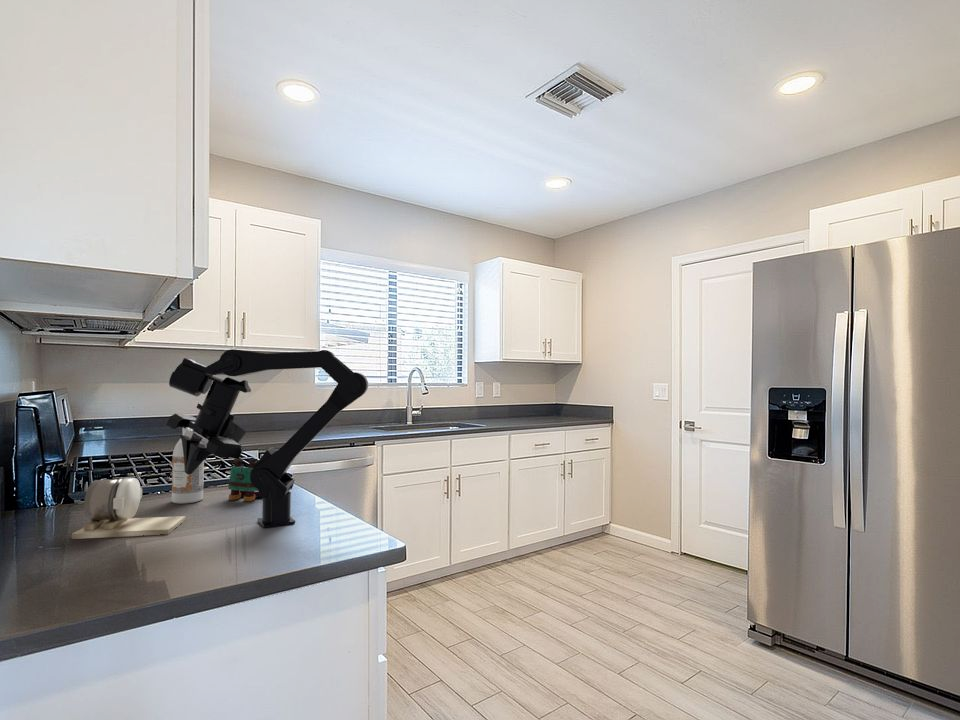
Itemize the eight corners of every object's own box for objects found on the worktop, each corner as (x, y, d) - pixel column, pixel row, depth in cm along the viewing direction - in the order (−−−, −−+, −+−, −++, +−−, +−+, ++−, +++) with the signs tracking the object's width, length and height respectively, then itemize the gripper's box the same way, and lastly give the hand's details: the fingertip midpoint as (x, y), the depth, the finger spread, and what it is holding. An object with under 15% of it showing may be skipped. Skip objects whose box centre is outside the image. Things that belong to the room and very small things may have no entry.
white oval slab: (141, 511, 114) (142, 474, 114) (121, 524, 104) (122, 483, 105) (133, 511, 114) (134, 474, 114) (112, 524, 104) (113, 483, 104)
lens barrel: (130, 514, 113) (131, 474, 113) (111, 525, 105) (112, 482, 105) (103, 515, 112) (104, 475, 112) (82, 527, 104) (84, 483, 104)
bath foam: (164, 503, 131) (166, 422, 131) (184, 497, 138) (186, 419, 138) (190, 504, 130) (192, 422, 130) (209, 498, 137) (210, 420, 137)
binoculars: (279, 457, 142) (253, 459, 133) (275, 498, 141) (249, 502, 132) (251, 455, 145) (224, 457, 136) (248, 495, 144) (220, 499, 134)
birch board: (185, 520, 116) (185, 510, 116) (168, 534, 106) (168, 523, 106) (97, 524, 112) (97, 514, 112) (71, 539, 102) (71, 527, 102)
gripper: (274, 425, 116) (245, 492, 115) (223, 397, 125) (196, 459, 124) (233, 417, 107) (200, 491, 105) (180, 388, 116) (150, 455, 114)
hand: (187, 473), depth 112 cm, fingers closed
